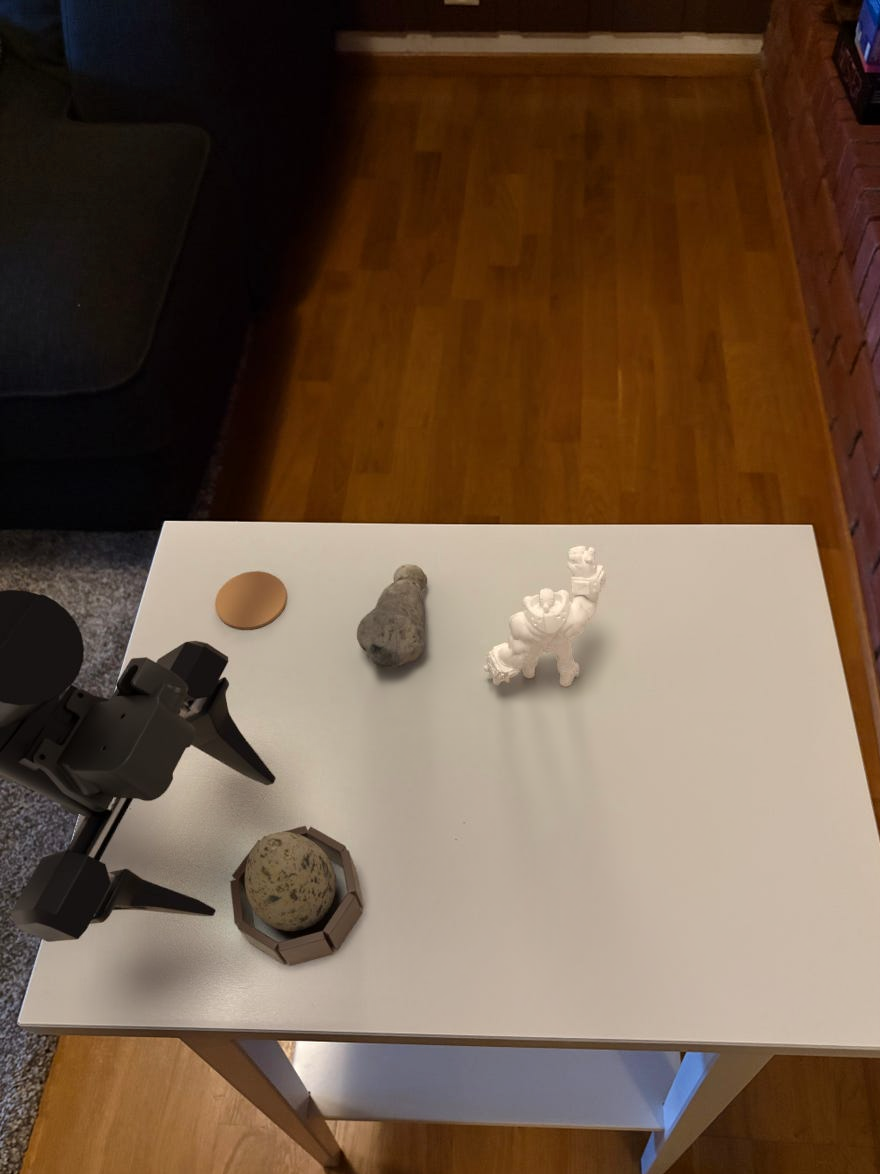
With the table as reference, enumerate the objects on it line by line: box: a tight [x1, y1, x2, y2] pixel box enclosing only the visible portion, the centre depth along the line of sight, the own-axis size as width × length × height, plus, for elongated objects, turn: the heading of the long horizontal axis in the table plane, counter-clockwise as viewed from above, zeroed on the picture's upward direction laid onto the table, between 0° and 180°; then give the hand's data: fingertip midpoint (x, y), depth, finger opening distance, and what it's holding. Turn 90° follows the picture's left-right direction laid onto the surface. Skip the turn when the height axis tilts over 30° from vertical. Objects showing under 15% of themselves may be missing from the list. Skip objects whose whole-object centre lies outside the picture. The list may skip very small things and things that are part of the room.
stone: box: [356, 563, 428, 669], centre depth 77 cm, size 10×6×8 cm
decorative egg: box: [245, 831, 337, 932], centre depth 61 cm, size 6×6×10 cm
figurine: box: [483, 545, 607, 688], centre depth 71 cm, size 10×5×12 cm, turn 120°
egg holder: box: [229, 825, 364, 966], centre depth 64 cm, size 8×8×4 cm
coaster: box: [214, 570, 288, 631], centre depth 81 cm, size 6×6×1 cm
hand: (243, 845), depth 58 cm, fingers open, 9 cm apart
